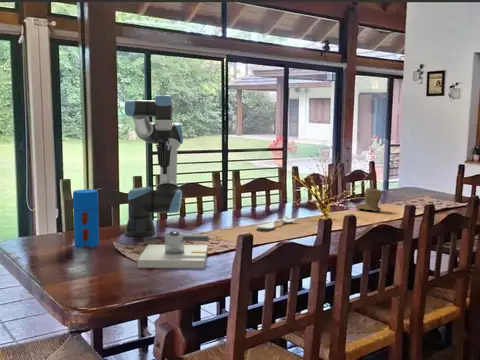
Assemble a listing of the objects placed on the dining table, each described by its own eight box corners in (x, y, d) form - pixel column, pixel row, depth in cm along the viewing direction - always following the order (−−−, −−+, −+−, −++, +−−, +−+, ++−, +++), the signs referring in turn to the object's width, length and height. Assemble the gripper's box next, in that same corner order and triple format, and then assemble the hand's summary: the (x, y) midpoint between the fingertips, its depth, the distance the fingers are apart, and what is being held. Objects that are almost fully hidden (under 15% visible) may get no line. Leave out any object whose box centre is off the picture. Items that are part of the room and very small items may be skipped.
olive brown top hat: (384, 210, 321) (385, 188, 319) (375, 213, 312) (376, 189, 310) (363, 207, 331) (364, 185, 329) (354, 210, 322) (355, 187, 320)
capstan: (163, 254, 200) (163, 234, 199) (166, 249, 208) (166, 230, 207) (207, 254, 200) (207, 234, 199) (209, 249, 207) (209, 230, 206)
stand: (137, 267, 192) (137, 259, 192) (148, 251, 216) (148, 243, 215) (204, 268, 192) (204, 259, 192) (207, 251, 216) (207, 244, 216)
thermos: (73, 248, 219) (71, 193, 216) (74, 242, 229) (73, 189, 226) (99, 247, 222) (97, 192, 219) (99, 241, 232) (97, 189, 229)
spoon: (299, 223, 280) (299, 217, 280) (265, 232, 256) (265, 226, 255) (285, 220, 286) (286, 215, 285) (252, 230, 261) (252, 223, 261)
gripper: (150, 129, 227) (151, 180, 230) (161, 129, 216) (161, 183, 219) (165, 129, 231) (166, 179, 234) (176, 129, 220) (177, 182, 222)
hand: (163, 181), depth 226 cm, fingers closed
